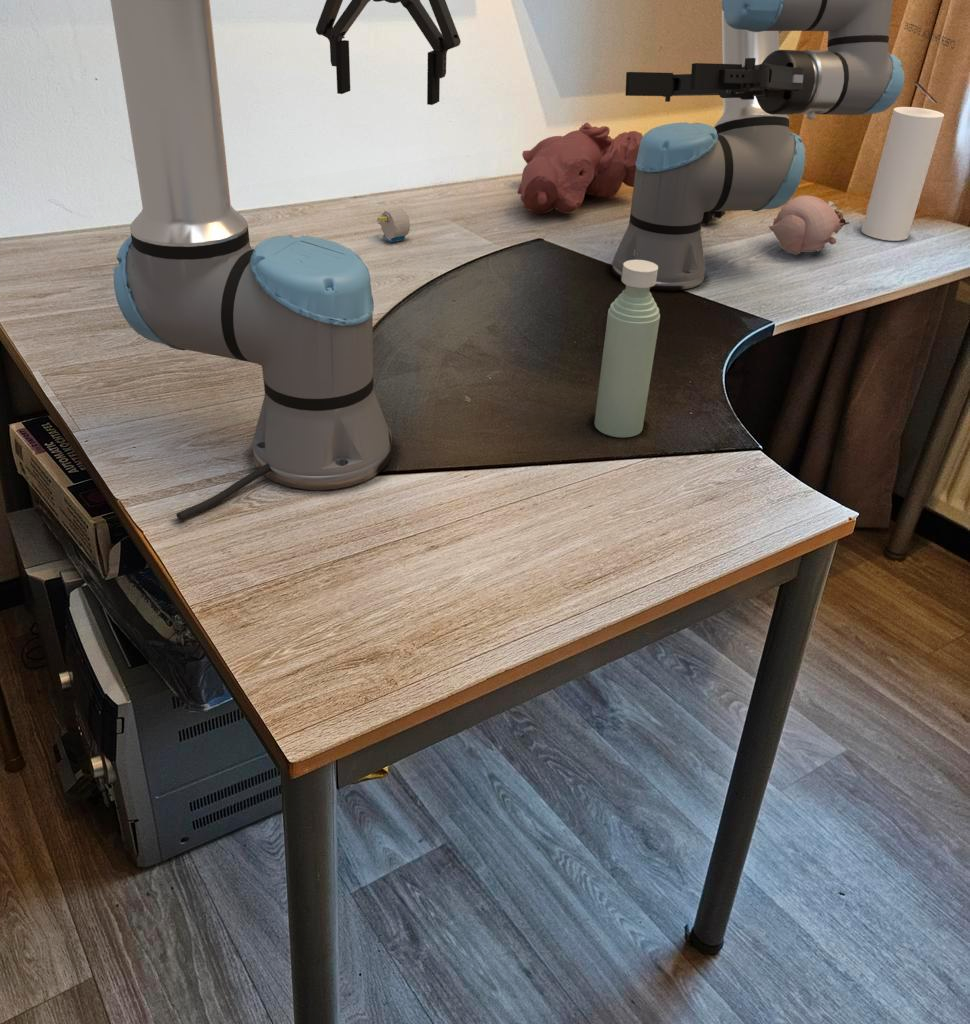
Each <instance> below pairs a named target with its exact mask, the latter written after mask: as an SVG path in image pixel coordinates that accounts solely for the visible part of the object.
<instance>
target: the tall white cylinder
mask: <svg viewBox="0 0 970 1024" xmlns="http://www.w3.org/2000/svg"><path fill="white" fill-rule="evenodd" d="M904 30H905V31H907V32H910V33H912V32H913V34H915V33H916V34H917V35H918V36H921V37H923V38H924V37H925V39H928V40H930V41H931V40H932V41H933V42H937V40H938V44H939V43H940V44H942V45H943V46H946V47H947V48H948V47H949V49H950V48H951V49H952V50H953V49H954V48H955V45H956V40H954V39H951V38H948V37H946V36H942V37H941V34H938V35H937V33H934V32H933V31H931V30H926V29H923V34H921V31H922V27H920V26H918V25H915V24H912V23H909V22H908V21H907V22H905V26H904ZM927 33H928V35H927ZM940 37H941V38H940ZM940 39H941V42H940ZM945 39H946V40H945ZM944 42H945V43H944ZM952 43H954V44H953V46H952ZM913 84H914V85H915V86H916V87H917V88H919V90H920V91H921V92H922V95H923V96H924V97H926V98H928V99H929V100H930V101H931V102H932V103H934V104H937V103H938V101H937V100H936V99H935V98H934V97H932V95H931V94H930V93H929V92H928V91H927V90H926V89H925V88H924V87H923V86H922V85H921V84H920V83H919V82H918V81H915V80H914V82H913ZM944 117H945V114H944V113H943V112H940V111H937V110H936V109H935V110H934V109H929V108H924V107H915V106H914V107H913V106H897V107H894V108H893V110H892V114H891V118H890V122H889V126H888V129H887V133H886V137H885V140H884V145H883V148H882V151H881V155H880V159H879V163H878V166H877V170H876V174H875V177H874V182H873V185H872V189H871V193H870V196H869V201H868V203H867V208H866V212H865V215H864V220H863V222H862V227H861V232H862V233H863V234H864V235H866V236H868V237H871V238H873V239H878V240H884V241H893V242H895V241H897V242H898V241H899V242H900V241H905V240H907V239H909V236H910V233H911V229H912V226H913V222H914V219H915V215H916V211H917V210H918V209H917V208H918V206H919V202H920V198H921V195H922V191H923V188H924V184H925V182H926V178H927V175H928V171H929V169H930V165H931V161H932V158H933V155H934V151H935V148H936V145H937V142H938V141H937V140H938V138H939V134H940V130H941V127H942V124H943V121H944Z"/></svg>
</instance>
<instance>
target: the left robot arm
mask: <svg viewBox="0 0 970 1024" xmlns="http://www.w3.org/2000/svg"><path fill="white" fill-rule="evenodd" d="M343 1H344V0H325V3H324V5H323V8H322V11H321V13H320V16H319V19H318V22H317V24H316V27H315V33H316V34H317V35H318V36H323V37H324V38H326V39H327V40H328V42H329V54H330V56H329V57H330V65H331V67H335V70H336V71H335V72H336V94H339V95H343V94H346V93H349V92H351V67H350V66H351V63H350V41H349V40H345V38H346V36H345V35H347V33H348V31H349V30H350V29H351V27H352V26H353V24H354V23H355V21H356V20H357V19H358V18H359V16H360V14H361V13H362V12H363V10H364V9H365V8H366V6H367V5H368V4H369V3H370V2H371V1H372V2H377V3H380V2H384V1H385V2H387V3H389V4H398V3H400V4H401V5H402V7H403V8H405V9H406V10H407V12H408V13H409V15H410V17H411V18H412V20H413V21H414V22H415V24H416V26H417V27H418V29H419V31H420V32H421V33H422V35H423V36H424V38H425V39H426V40H427V43H428V44H429V46H430V47H431V48H432V50H431V51H428V52H427V74H426V75H427V79H426V80H427V85H426V87H427V88H426V105H429V106H433V105H435V104H438V103H440V93H441V92H440V91H441V90H440V89H441V87H440V86H441V83H440V81H441V79H443V78H445V77H446V74H447V54H448V51H449V50H451V49H454V48H457V47H459V46H460V45H461V42H462V41H461V38H460V35H459V33H458V30H457V27H456V24H455V22H454V19H453V17H452V14H451V11H450V9H449V7H448V4H447V1H446V0H428V2H429V5H430V8H431V10H432V13H433V15H434V18H435V21H436V23H437V25H438V26H437V25H436V23H435V22H434V20H433V19H432V17H431V15H429V13H428V11H427V9H426V8H425V6H424V5H423V3H422V2H421V0H351V1H350V2H349V3H348V5H347V6H346V8H345V9H344V11H343V12H342V14H341V15H340V16H339V18H338V19H337V17H338V14H339V12H340V9H341V6H342V4H343ZM110 6H111V12H112V19H113V20H112V21H113V27H114V31H115V39H116V45H117V52H118V59H119V64H120V70H121V77H122V84H123V90H124V96H125V97H124V98H125V103H126V110H127V116H128V122H129V123H128V124H129V129H130V136H131V142H132V149H133V156H134V161H135V169H136V175H137V180H138V187H139V194H140V199H141V206H142V210H141V211H140V212H139V214H138V215H137V216H136V217H135V218H134V220H133V221H132V222H131V224H130V225H129V232H130V236H128V237H127V238H126V239H125V240H124V241H123V243H122V244H121V246H120V247H119V249H118V252H117V256H116V260H117V261H118V265H117V266H114V268H113V288H114V294H115V298H116V302H117V305H118V307H119V310H120V312H121V315H122V316H123V318H124V319H125V321H126V323H127V324H128V325H129V327H130V328H131V329H133V331H134V332H136V333H137V334H138V335H139V336H141V337H143V338H144V339H145V340H148V341H150V342H154V343H157V344H161V345H164V346H167V347H169V348H171V349H174V350H178V351H191V352H197V353H202V354H207V355H211V356H216V357H222V358H226V359H231V360H236V361H242V362H248V363H251V364H252V363H253V364H257V365H259V366H261V370H262V379H263V388H264V390H263V391H264V396H263V400H262V404H261V408H260V412H259V415H258V419H257V423H256V427H255V430H254V434H253V439H252V455H253V460H254V464H255V467H256V469H255V470H254V471H251V472H250V473H248V474H247V475H245V476H244V477H242V478H240V479H239V480H237V481H236V482H234V483H232V484H231V485H230V486H228V487H226V488H225V489H224V490H222V491H220V492H219V493H217V494H215V495H213V496H211V497H210V498H207V499H206V500H203V501H202V502H200V503H197V504H195V505H193V506H190V507H187V508H186V509H182V510H181V511H178V512H177V513H176V515H175V516H176V518H177V520H178V521H184V520H185V519H187V518H190V517H192V516H194V515H197V514H199V513H201V512H204V511H205V510H208V509H210V508H212V507H214V506H216V505H218V504H220V503H221V502H223V501H225V500H227V499H228V498H230V497H231V496H233V495H234V494H236V493H237V492H238V491H240V490H243V488H245V487H246V486H248V485H250V484H251V483H253V482H255V481H256V480H258V479H260V478H261V477H263V476H265V477H266V478H268V479H269V480H271V481H273V482H275V483H278V484H280V485H283V486H286V487H290V488H295V489H301V490H312V491H314V490H315V491H323V490H327V491H328V490H337V489H342V488H348V487H351V486H355V485H358V484H361V483H363V482H366V481H368V480H370V479H373V478H374V477H375V476H377V475H378V474H380V473H381V472H382V471H383V470H384V469H385V468H386V467H387V466H388V464H389V463H390V461H391V458H392V441H393V439H392V432H391V431H390V426H389V427H388V424H387V422H386V419H385V417H384V413H383V411H382V408H381V406H380V403H379V400H378V398H377V395H376V393H375V385H374V320H373V319H374V318H373V317H374V315H373V314H374V308H375V301H374V297H373V292H372V283H371V275H370V270H369V267H368V266H367V264H366V263H365V262H364V260H363V259H362V258H361V257H360V256H359V254H357V253H356V252H355V251H353V250H352V249H351V248H348V247H346V246H345V245H343V244H340V243H338V242H335V241H331V240H329V239H324V238H322V237H317V236H310V235H300V236H299V237H296V236H293V235H288V234H287V235H279V236H273V237H269V238H265V239H264V240H262V241H260V242H259V243H258V244H257V245H255V247H254V248H253V247H251V242H250V241H251V240H250V233H249V223H248V220H247V219H246V218H245V216H243V215H242V214H240V213H239V212H238V211H237V210H236V209H234V207H233V206H232V203H231V194H230V185H229V183H230V182H229V175H228V174H229V173H228V165H227V156H226V155H227V154H226V146H225V137H224V129H223V128H224V127H223V118H222V117H223V115H222V106H221V97H220V88H219V78H218V67H217V59H216V57H217V56H216V49H215V40H214V30H213V29H214V28H213V21H212V20H213V19H212V11H211V2H210V0H110ZM336 19H337V21H336Z"/></svg>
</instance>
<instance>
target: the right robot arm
mask: <svg viewBox="0 0 970 1024" xmlns="http://www.w3.org/2000/svg"><path fill="white" fill-rule="evenodd" d="M893 4H894V0H721V33H722V34H721V36H722V38H721V39H722V41H721V42H722V43H721V44H722V47H721V48H722V63H713V62H712V63H709V62H707V63H706V62H705V63H703V62H692V63H691V71H690V72H691V73H681V74H680V73H678V74H677V73H676V74H675V73H673V72H658V71H657V72H656V71H655V72H653V71H648V72H647V71H626V73H625V96H626V97H663V98H664V102H667V103H670V102H671V97H687V96H688V97H691V96H692V97H694V96H701V97H702V96H719V97H720V98H721V99H722V104H723V105H722V110H723V112H722V113H723V114H722V116H721V117H720V118H718V121H716V123H715V124H714V125H710V124H706V123H701V122H687V121H686V122H673V123H666V124H662V125H659V126H655V127H653V128H651V129H649V130H648V131H647V132H646V133H645V134H644V135H642V136H643V137H642V139H641V142H640V147H639V151H638V156H637V159H636V162H635V165H636V171H635V179H634V187H632V188H633V189H632V197H631V205H630V215H629V221H628V225H627V227H626V229H625V232H624V234H623V237H622V238H621V241H620V243H619V245H618V247H617V249H616V251H615V254H614V257H613V260H612V265H611V271H612V274H613V275H614V276H615V277H616V278H617V279H619V280H620V281H622V280H621V279H622V271H623V264H624V262H626V261H629V260H645V261H649V262H652V263H655V264H656V265H657V266H658V272H657V279H656V284H655V285H654V286H652V287H650V290H655V291H683V290H688V289H692V288H693V289H694V288H695V287H697V286H700V285H701V284H703V282H704V280H705V274H706V261H705V255H704V248H703V241H702V235H701V233H702V232H701V231H702V225H703V224H702V220H703V215H704V212H711V211H725V212H739V211H740V212H741V211H752V212H760V211H763V210H764V211H765V210H773V209H778V208H780V207H784V206H785V205H786V204H787V203H788V202H789V201H791V200H792V198H793V196H794V195H795V193H796V191H797V190H798V188H799V186H800V183H801V182H802V178H803V175H804V171H805V164H806V147H805V144H804V142H803V139H802V137H800V136H799V135H798V133H797V134H796V133H794V132H791V131H790V117H789V116H790V115H794V114H795V115H807V116H806V118H807V120H809V121H810V120H814V119H815V118H816V117H815V116H816V115H832V116H833V115H835V116H836V115H838V116H859V115H862V116H863V115H873V114H874V115H876V114H879V113H882V112H883V113H884V112H886V110H888V109H889V108H891V107H892V106H893V105H894V104H895V103H896V101H897V100H898V99H899V97H900V95H901V92H902V90H903V87H904V84H905V72H904V69H903V64H902V62H901V60H900V59H899V58H898V57H897V56H896V55H895V54H891V53H890V52H889V49H890V42H889V41H890V36H889V35H890V28H891V27H890V26H891V22H892V21H891V19H892V12H893V7H894V5H893ZM780 32H827V50H814V49H811V50H810V49H806V50H805V49H803V50H798V49H797V50H796V49H780ZM788 115H789V116H788Z"/></svg>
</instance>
